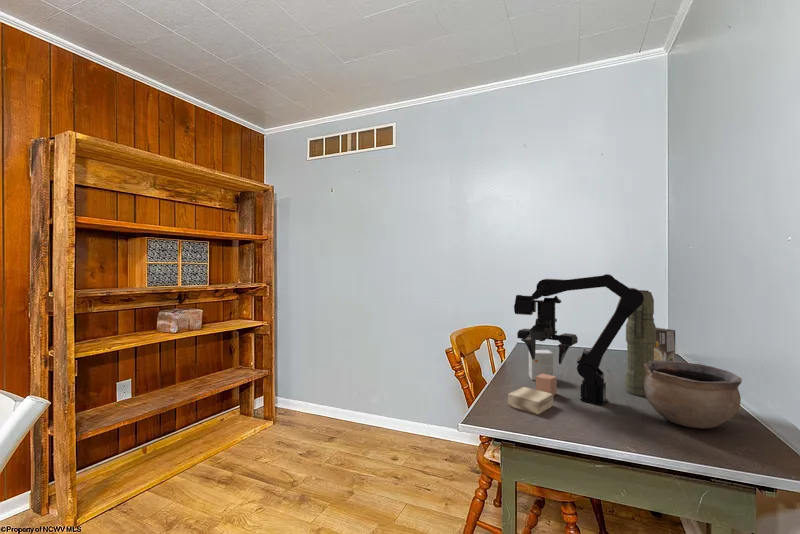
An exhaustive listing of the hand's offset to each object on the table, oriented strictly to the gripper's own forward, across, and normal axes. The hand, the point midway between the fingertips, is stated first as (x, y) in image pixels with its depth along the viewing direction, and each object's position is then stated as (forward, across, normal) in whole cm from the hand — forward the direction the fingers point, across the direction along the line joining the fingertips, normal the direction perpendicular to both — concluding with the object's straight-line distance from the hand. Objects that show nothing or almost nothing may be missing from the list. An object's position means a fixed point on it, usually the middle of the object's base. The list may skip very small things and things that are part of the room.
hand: (546, 361), depth 133 cm
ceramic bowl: (+11, +39, +4) cm, 41 cm away
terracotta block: (+11, 0, 0) cm, 11 cm away
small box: (+11, -9, +16) cm, 22 cm away
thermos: (+11, +23, +23) cm, 34 cm away
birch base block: (+11, +1, -14) cm, 18 cm away
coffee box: (+11, +21, +68) cm, 72 cm away
